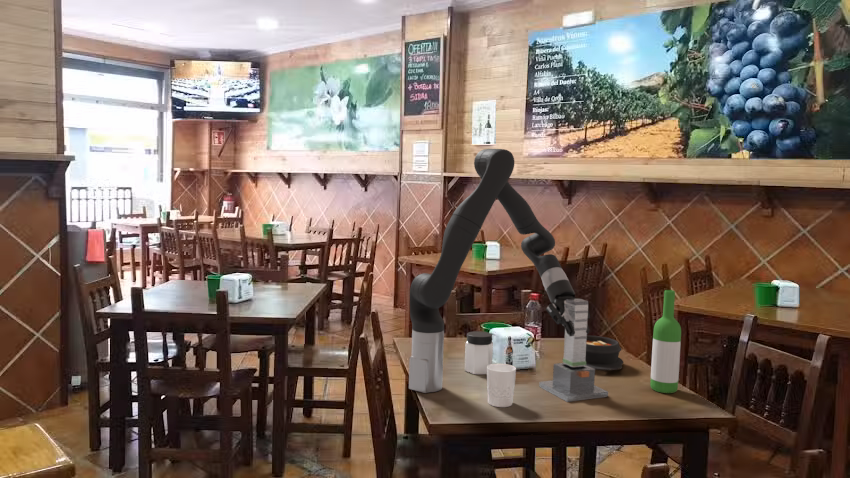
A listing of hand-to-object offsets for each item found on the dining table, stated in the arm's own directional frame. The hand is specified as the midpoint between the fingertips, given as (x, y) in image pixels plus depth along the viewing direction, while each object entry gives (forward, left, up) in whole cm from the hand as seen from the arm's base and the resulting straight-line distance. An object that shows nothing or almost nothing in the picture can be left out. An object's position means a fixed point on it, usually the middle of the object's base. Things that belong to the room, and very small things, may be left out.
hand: (579, 334), depth 182 cm
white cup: (-22, +13, -18) cm, 31 cm away
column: (+1, +2, -9) cm, 10 cm away
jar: (0, +34, -18) cm, 38 cm away
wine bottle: (+21, -18, -18) cm, 33 cm away
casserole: (+33, +8, -18) cm, 39 cm away
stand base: (+1, +2, -18) cm, 18 cm away
